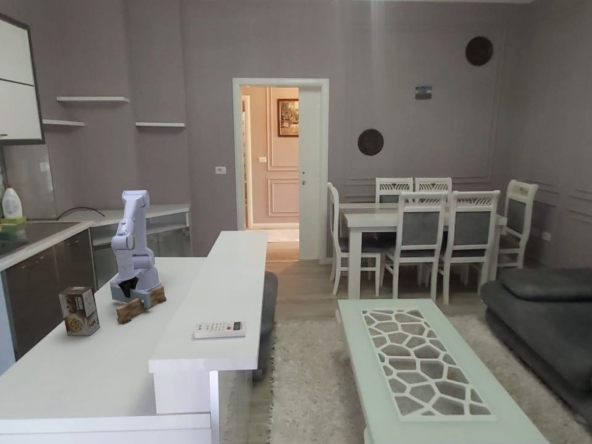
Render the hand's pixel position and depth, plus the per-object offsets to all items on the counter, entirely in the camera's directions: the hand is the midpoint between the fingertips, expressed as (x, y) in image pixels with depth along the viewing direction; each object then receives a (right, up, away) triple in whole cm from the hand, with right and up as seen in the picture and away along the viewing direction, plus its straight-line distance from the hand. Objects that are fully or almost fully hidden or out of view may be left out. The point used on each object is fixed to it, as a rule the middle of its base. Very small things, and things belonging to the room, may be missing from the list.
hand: (130, 296), depth 155 cm
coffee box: (-10, -10, -15) cm, 21 cm away
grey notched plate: (0, -3, +1) cm, 3 cm away
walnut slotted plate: (+6, -5, -2) cm, 8 cm away
